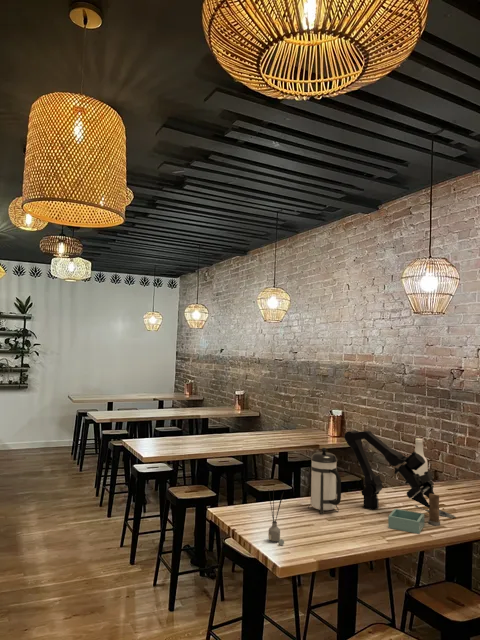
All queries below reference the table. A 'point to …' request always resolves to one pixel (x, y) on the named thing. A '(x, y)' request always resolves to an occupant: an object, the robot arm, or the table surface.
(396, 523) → the green square tray
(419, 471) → the alcohol
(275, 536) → the reed diffuser
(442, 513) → the driftwood
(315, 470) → the coffee press
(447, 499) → the table surface
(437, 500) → the brown tower block
